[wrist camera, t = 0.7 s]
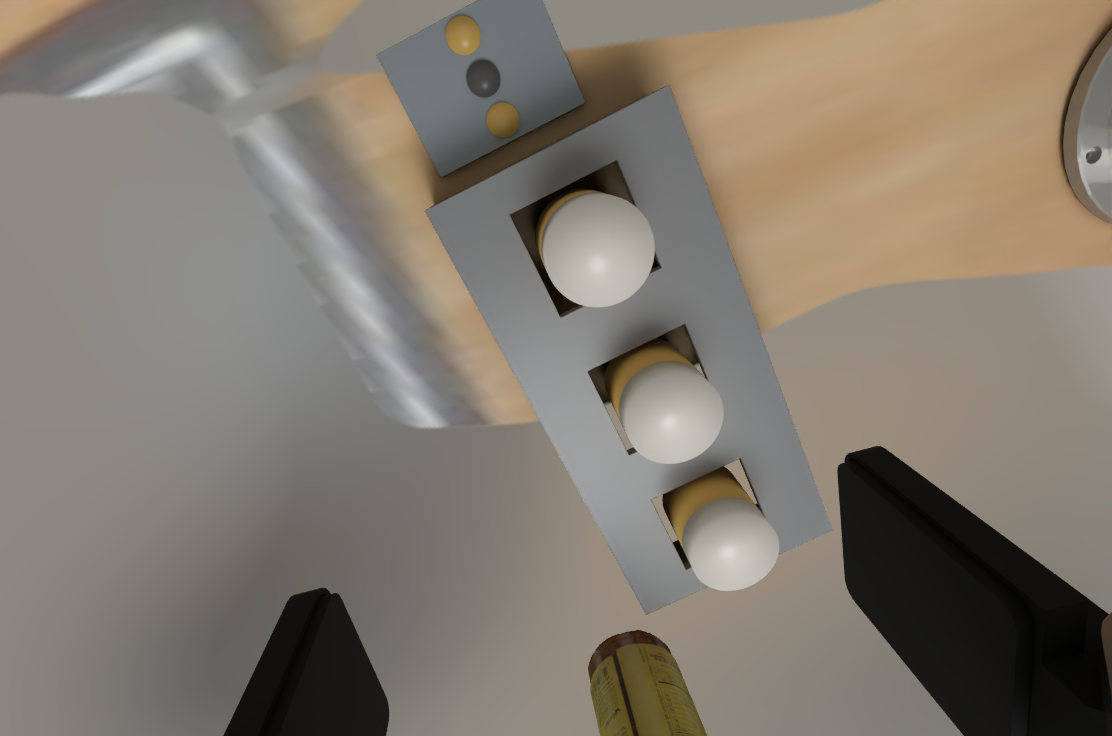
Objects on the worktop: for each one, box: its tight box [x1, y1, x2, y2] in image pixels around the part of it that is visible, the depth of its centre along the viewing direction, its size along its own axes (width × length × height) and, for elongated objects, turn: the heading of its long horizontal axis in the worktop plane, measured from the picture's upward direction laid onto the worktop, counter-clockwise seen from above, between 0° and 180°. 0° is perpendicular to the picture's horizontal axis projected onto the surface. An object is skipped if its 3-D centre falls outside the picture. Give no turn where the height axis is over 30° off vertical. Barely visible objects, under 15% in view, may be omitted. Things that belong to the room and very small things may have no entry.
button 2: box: [663, 466, 779, 591], centre depth 32 cm, size 5×5×6 cm
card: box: [377, 0, 585, 177], centre depth 28 cm, size 8×6×1 cm
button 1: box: [536, 189, 655, 307], centre depth 27 cm, size 5×5×6 cm
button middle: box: [605, 338, 724, 464], centre depth 29 cm, size 5×5×6 cm
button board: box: [425, 85, 832, 615], centre depth 32 cm, size 12×26×4 cm, turn 26°
